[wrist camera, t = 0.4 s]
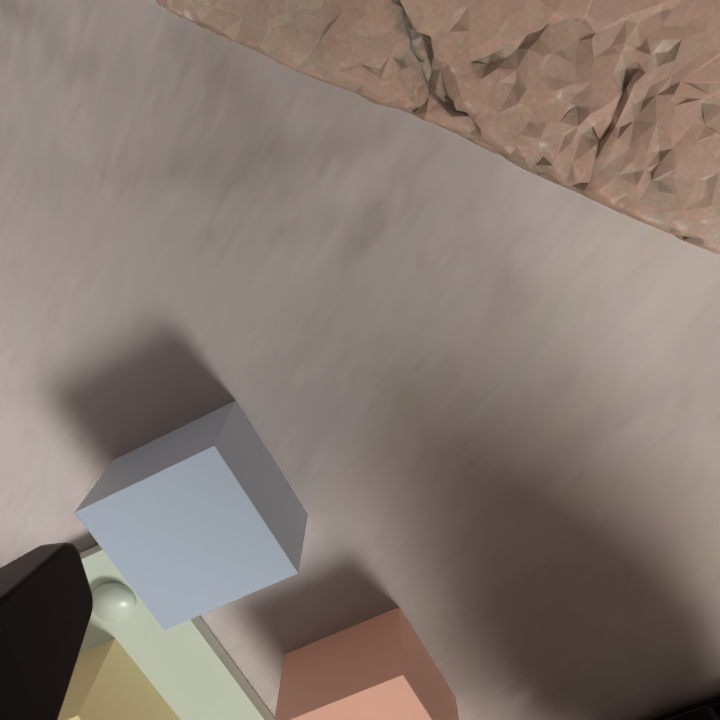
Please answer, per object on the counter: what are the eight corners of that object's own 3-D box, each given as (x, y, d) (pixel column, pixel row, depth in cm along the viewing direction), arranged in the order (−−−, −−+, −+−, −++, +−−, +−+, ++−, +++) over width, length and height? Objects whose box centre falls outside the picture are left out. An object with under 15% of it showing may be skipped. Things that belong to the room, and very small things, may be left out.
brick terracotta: (454, 693, 27) (466, 773, 24) (345, 736, 28) (342, 818, 25) (398, 603, 26) (402, 674, 23) (285, 650, 27) (273, 726, 23)
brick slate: (308, 511, 25) (297, 573, 21) (191, 563, 25) (164, 630, 22) (237, 398, 23) (214, 445, 20) (115, 457, 24) (74, 512, 21)
